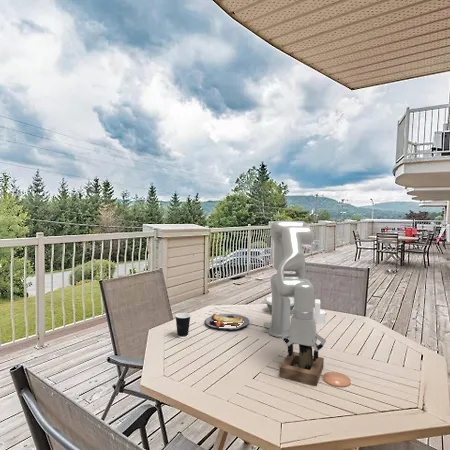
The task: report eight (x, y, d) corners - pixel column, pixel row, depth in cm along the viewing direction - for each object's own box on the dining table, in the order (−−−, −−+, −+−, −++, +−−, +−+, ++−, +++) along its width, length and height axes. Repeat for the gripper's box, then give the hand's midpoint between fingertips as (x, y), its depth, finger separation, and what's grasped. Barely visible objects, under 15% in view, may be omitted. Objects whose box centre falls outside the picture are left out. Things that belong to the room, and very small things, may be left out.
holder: (279, 377, 123) (279, 367, 123) (289, 360, 137) (289, 351, 137) (316, 386, 117) (316, 375, 116) (323, 367, 131) (323, 357, 131)
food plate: (198, 328, 173) (198, 322, 173) (212, 315, 196) (212, 310, 196) (243, 334, 166) (243, 327, 166) (252, 320, 188) (253, 314, 188)
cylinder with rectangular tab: (325, 325, 181) (325, 304, 181) (308, 323, 184) (309, 302, 183) (325, 320, 190) (325, 300, 189) (309, 318, 192) (309, 298, 192)
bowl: (277, 318, 191) (277, 305, 190) (259, 310, 207) (260, 297, 207) (301, 314, 199) (301, 301, 199) (283, 306, 216) (283, 294, 216)
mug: (311, 369, 129) (311, 340, 129) (313, 376, 124) (314, 345, 123) (291, 368, 130) (291, 339, 130) (292, 375, 124) (293, 344, 124)
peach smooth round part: (320, 383, 119) (320, 381, 119) (324, 371, 128) (324, 369, 128) (349, 389, 115) (349, 388, 115) (351, 377, 124) (351, 375, 124)
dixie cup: (190, 333, 166) (191, 312, 166) (190, 339, 158) (190, 317, 158) (175, 333, 165) (175, 312, 165) (174, 339, 157) (174, 317, 157)
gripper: (279, 314, 126) (278, 356, 127) (324, 320, 119) (323, 366, 119) (284, 309, 133) (283, 349, 133) (327, 315, 126) (326, 358, 126)
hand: (302, 357), depth 126 cm, fingers open, 9 cm apart
